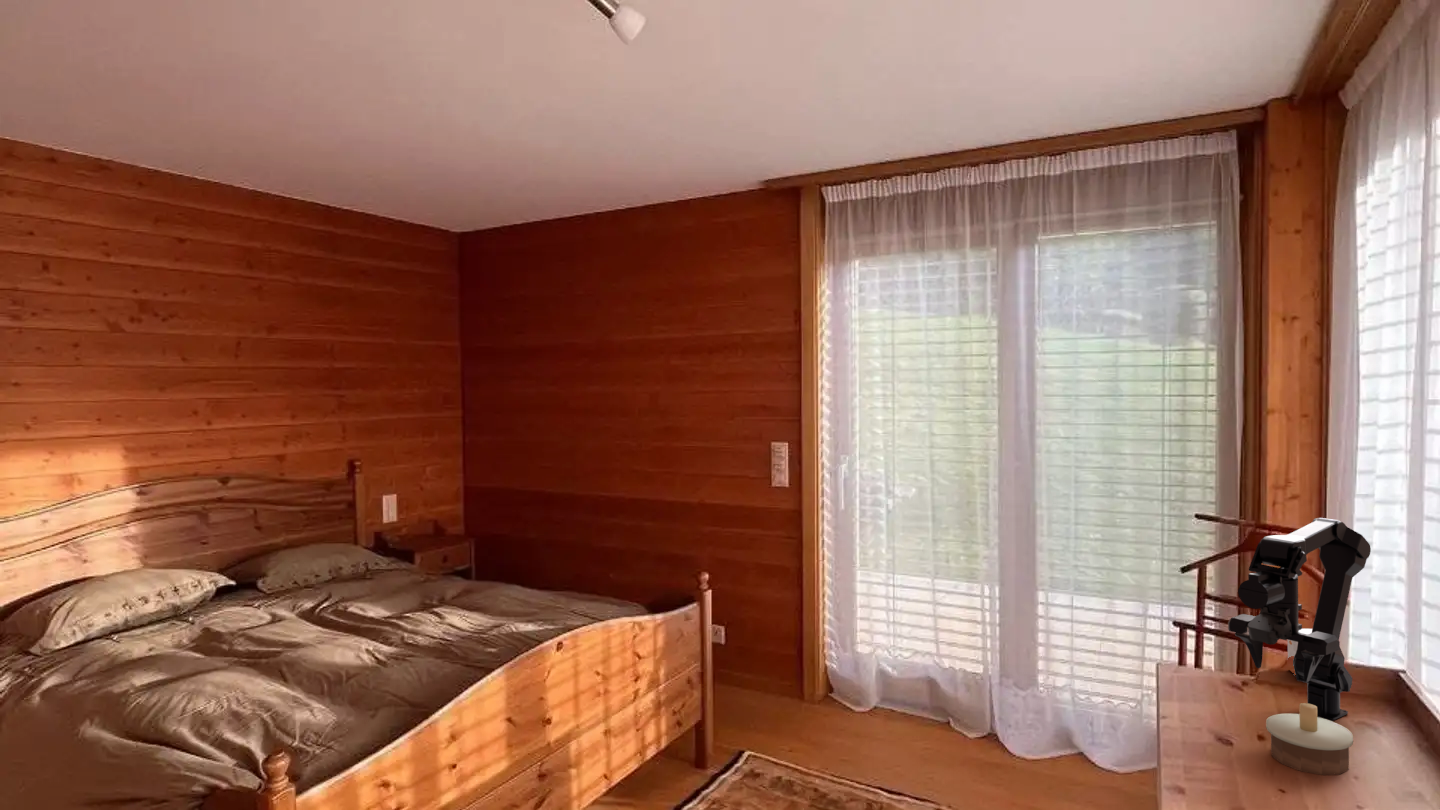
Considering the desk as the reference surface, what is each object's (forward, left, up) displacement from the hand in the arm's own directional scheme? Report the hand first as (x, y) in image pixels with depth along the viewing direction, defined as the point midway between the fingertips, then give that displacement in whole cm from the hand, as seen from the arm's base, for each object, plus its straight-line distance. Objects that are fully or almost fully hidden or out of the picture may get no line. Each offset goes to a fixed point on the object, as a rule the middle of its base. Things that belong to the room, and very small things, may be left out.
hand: (1282, 674), depth 172 cm
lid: (+8, +9, -8) cm, 15 cm away
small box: (-34, -12, -12) cm, 38 cm away
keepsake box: (+8, +9, -12) cm, 17 cm away
